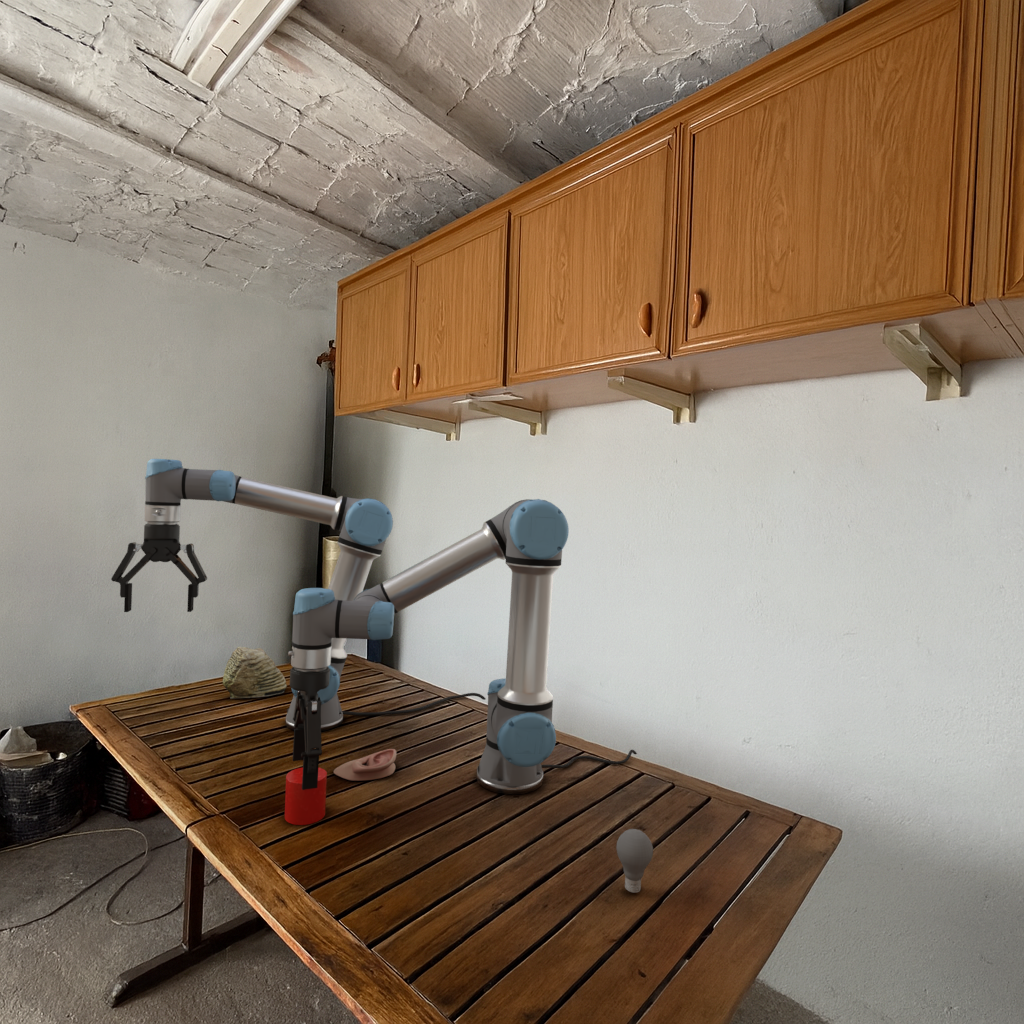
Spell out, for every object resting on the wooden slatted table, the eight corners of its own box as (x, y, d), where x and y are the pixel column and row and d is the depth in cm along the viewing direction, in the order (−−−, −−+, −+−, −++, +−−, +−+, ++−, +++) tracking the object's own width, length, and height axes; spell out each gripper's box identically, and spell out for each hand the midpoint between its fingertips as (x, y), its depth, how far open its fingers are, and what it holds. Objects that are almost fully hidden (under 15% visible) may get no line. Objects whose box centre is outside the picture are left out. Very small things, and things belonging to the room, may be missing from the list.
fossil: (218, 695, 195) (220, 647, 195) (278, 685, 208) (279, 640, 207) (228, 703, 189) (230, 653, 188) (289, 692, 201) (290, 645, 201)
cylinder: (294, 829, 120) (296, 787, 120) (278, 813, 126) (279, 773, 126) (332, 816, 126) (333, 776, 126) (314, 802, 131) (316, 763, 131)
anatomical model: (327, 759, 142) (350, 741, 154) (326, 777, 143) (349, 757, 154) (382, 767, 140) (402, 748, 151) (382, 785, 140) (401, 764, 151)
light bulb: (610, 879, 108) (613, 822, 108) (644, 879, 109) (647, 822, 109) (619, 902, 102) (622, 840, 102) (655, 901, 103) (658, 840, 103)
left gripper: (97, 522, 146) (94, 614, 146) (215, 525, 152) (212, 613, 153) (109, 520, 153) (106, 608, 153) (221, 524, 159) (218, 608, 160)
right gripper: (283, 652, 135) (277, 751, 135) (299, 686, 113) (292, 804, 113) (319, 651, 138) (313, 747, 139) (342, 683, 116) (335, 798, 116)
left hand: (159, 611), depth 153 cm, fingers open, 13 cm apart
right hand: (304, 773), depth 126 cm, fingers open, 13 cm apart
